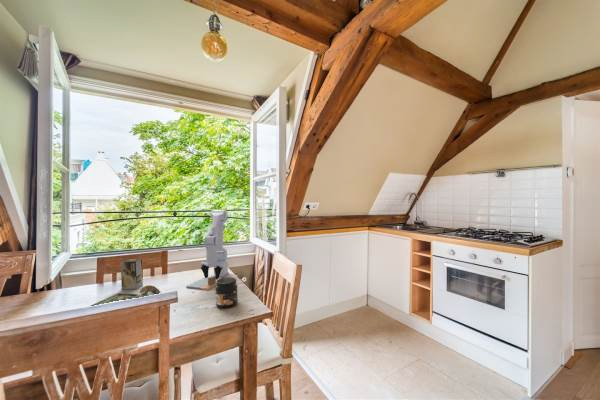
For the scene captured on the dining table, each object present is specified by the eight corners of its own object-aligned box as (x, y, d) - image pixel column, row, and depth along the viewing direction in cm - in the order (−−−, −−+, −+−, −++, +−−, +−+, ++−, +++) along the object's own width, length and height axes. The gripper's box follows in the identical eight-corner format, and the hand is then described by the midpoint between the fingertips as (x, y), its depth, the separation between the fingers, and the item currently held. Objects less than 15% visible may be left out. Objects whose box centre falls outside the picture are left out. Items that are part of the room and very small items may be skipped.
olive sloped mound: (171, 283, 134) (142, 298, 114) (171, 297, 134) (142, 315, 114) (117, 280, 139) (80, 295, 119) (117, 294, 139) (81, 311, 119)
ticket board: (203, 279, 160) (203, 277, 160) (215, 280, 158) (215, 278, 158) (186, 288, 146) (186, 285, 146) (199, 289, 143) (199, 287, 143)
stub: (215, 280, 157) (215, 272, 157) (223, 281, 156) (223, 273, 156) (199, 289, 143) (199, 280, 143) (207, 290, 142) (207, 281, 141)
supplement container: (213, 309, 118) (212, 284, 118) (218, 300, 128) (218, 277, 128) (235, 308, 119) (235, 283, 118) (239, 299, 129) (239, 276, 129)
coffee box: (143, 285, 152) (142, 258, 151) (136, 289, 145) (136, 261, 145) (128, 285, 151) (127, 259, 151) (120, 289, 145) (120, 261, 145)
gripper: (196, 256, 147) (197, 279, 148) (217, 258, 143) (218, 281, 143) (204, 253, 154) (205, 275, 154) (225, 255, 150) (225, 277, 150)
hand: (211, 278), depth 149 cm, fingers open, 7 cm apart
